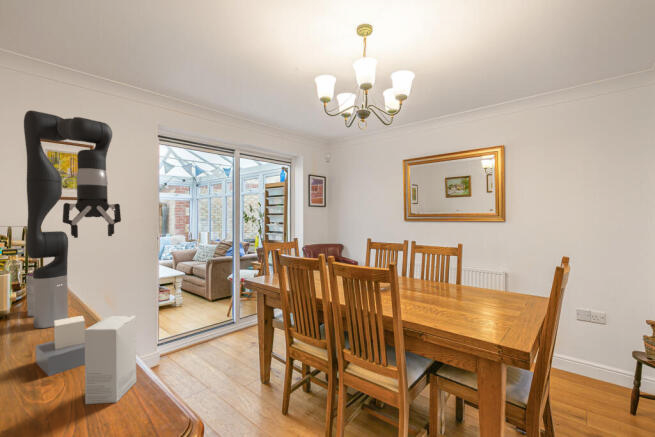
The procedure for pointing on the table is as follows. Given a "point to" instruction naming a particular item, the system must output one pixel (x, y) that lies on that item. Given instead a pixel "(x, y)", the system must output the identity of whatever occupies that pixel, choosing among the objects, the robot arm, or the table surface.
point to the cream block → (69, 332)
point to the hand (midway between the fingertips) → (93, 236)
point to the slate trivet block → (59, 357)
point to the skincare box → (110, 359)
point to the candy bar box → (30, 295)
